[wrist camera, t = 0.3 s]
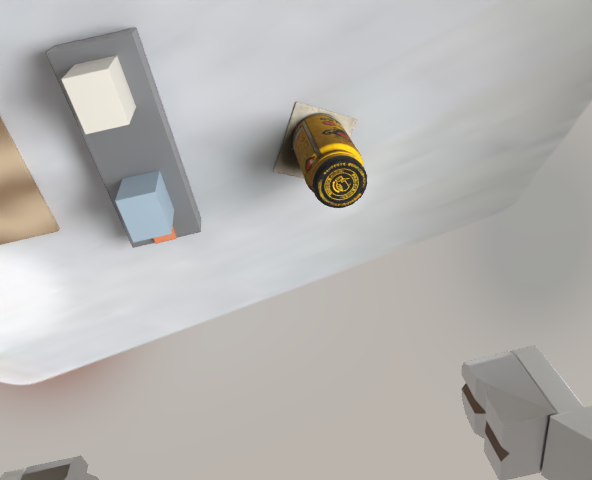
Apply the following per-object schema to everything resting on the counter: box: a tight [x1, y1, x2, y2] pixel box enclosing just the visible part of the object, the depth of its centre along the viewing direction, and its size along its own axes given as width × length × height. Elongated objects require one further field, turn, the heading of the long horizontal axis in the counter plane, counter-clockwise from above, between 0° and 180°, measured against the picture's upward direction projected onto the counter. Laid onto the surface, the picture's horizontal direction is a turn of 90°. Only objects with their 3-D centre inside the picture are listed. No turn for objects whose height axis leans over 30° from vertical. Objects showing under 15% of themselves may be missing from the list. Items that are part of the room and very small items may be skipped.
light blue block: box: [115, 170, 174, 243], centre depth 53 cm, size 5×4×7 cm
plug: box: [61, 55, 136, 134], centre depth 47 cm, size 5×4×7 cm
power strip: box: [46, 28, 201, 248], centre depth 53 cm, size 22×8×4 cm, turn 10°
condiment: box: [274, 102, 367, 208], centre depth 53 cm, size 7×8×12 cm
